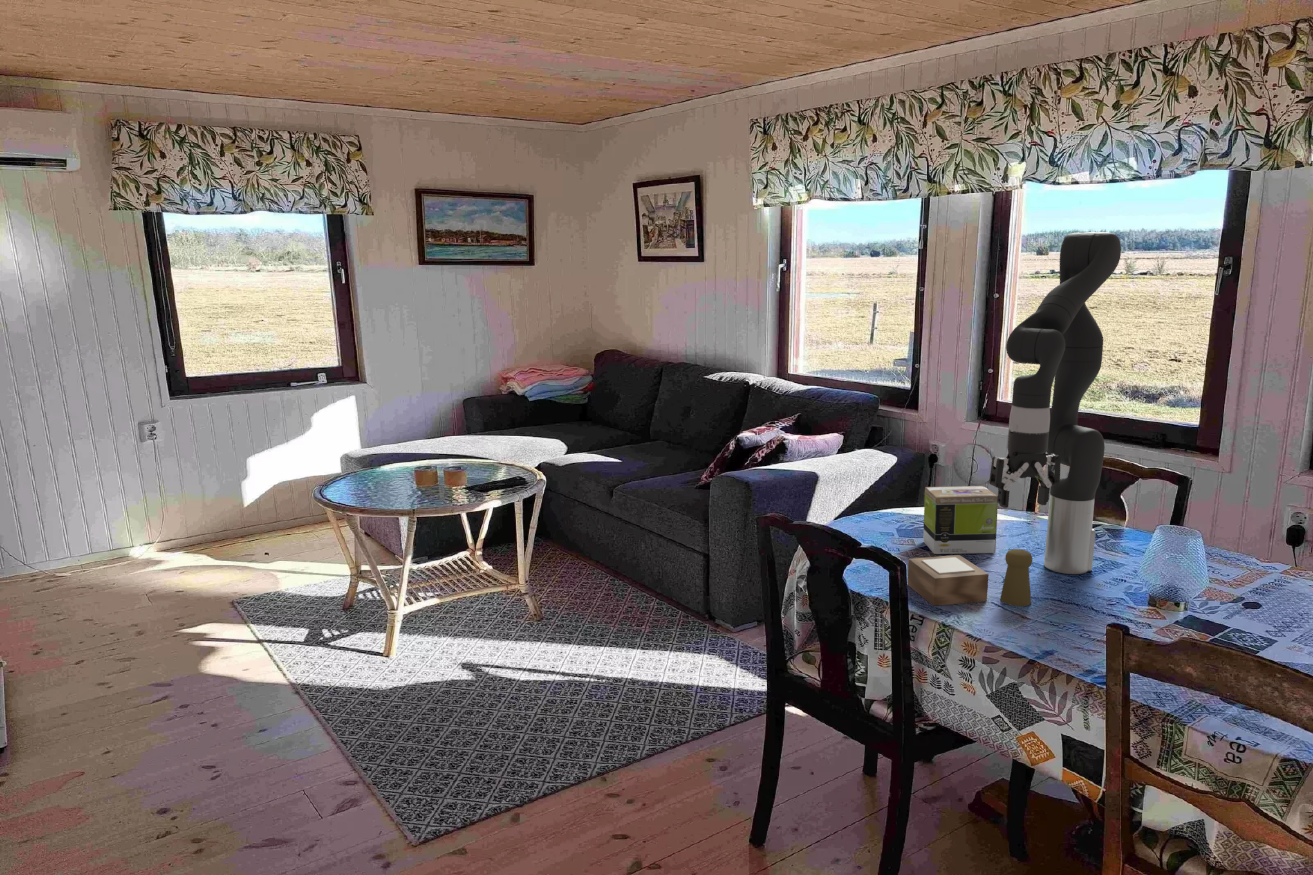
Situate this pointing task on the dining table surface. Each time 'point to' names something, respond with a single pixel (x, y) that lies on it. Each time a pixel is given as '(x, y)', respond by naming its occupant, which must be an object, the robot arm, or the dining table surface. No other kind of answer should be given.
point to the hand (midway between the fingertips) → (1022, 505)
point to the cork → (1017, 578)
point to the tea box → (960, 519)
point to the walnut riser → (947, 580)
